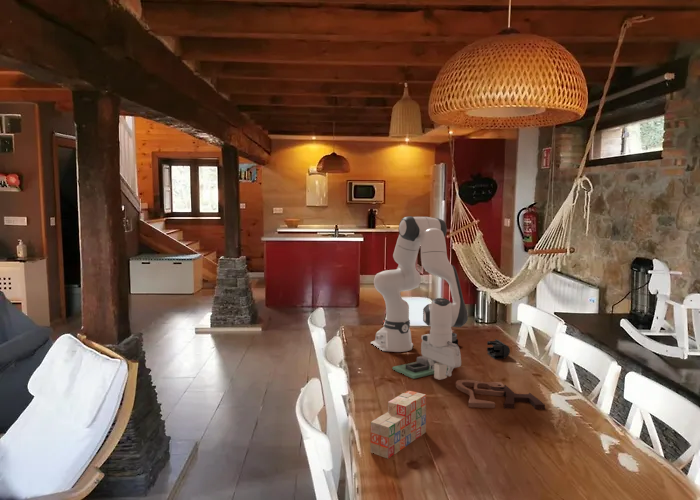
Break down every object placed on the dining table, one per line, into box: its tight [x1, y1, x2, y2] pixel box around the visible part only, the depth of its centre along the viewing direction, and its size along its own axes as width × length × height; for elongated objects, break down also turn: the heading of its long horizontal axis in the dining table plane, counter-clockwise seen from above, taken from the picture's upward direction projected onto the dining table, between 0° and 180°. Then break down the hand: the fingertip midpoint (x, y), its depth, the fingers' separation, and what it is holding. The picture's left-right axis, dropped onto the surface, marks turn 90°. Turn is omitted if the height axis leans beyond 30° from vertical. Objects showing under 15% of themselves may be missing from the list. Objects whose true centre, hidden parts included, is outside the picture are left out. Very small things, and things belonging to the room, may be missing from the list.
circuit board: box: [392, 355, 449, 380], centre depth 219 cm, size 14×20×4 cm
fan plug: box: [433, 362, 448, 381], centre depth 209 cm, size 3×5×6 cm, turn 122°
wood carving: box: [455, 379, 546, 410], centre depth 189 cm, size 28×2×24 cm
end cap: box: [486, 339, 511, 360], centre depth 238 cm, size 10×7×7 cm
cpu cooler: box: [452, 332, 459, 347], centre depth 258 cm, size 10×6×10 cm
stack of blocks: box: [369, 390, 427, 459], centre depth 152 cm, size 21×6×12 cm, turn 143°
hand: (440, 372), depth 209 cm, fingers open, 8 cm apart
